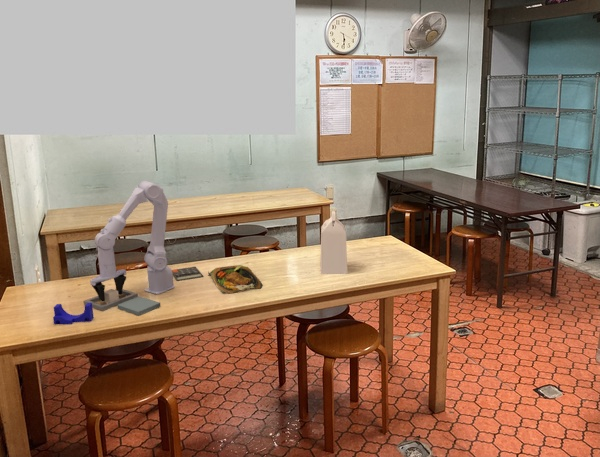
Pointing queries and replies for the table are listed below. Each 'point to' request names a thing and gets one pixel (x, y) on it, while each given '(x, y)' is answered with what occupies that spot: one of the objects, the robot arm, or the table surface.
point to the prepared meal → (234, 278)
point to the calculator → (186, 273)
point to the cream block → (111, 295)
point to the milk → (333, 247)
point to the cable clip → (66, 318)
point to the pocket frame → (128, 295)
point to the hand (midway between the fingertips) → (111, 297)
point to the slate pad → (138, 305)
